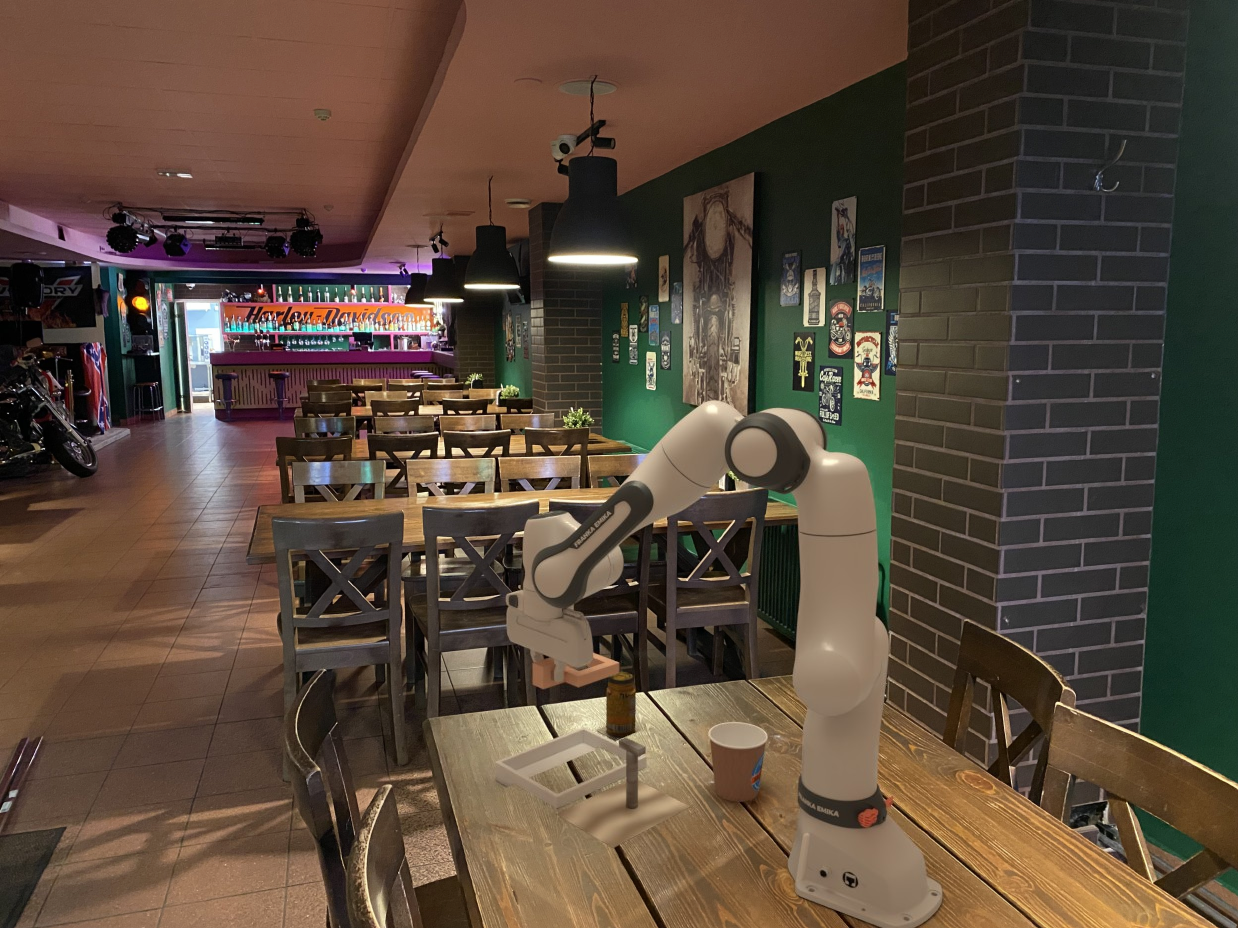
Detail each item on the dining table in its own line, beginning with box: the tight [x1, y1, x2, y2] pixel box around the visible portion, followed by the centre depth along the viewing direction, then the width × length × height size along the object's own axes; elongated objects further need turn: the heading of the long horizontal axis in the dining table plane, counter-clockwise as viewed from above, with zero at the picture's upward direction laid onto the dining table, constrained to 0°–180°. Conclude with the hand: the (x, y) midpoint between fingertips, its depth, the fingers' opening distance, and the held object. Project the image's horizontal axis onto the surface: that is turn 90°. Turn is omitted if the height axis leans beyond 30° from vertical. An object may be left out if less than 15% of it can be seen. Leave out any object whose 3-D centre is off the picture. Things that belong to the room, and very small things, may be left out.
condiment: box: [596, 671, 642, 742], centre depth 181 cm, size 7×8×12 cm
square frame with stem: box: [532, 652, 620, 690], centre depth 161 cm, size 10×15×4 cm, turn 134°
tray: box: [494, 726, 647, 809], centre depth 163 cm, size 18×22×4 cm
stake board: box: [555, 737, 691, 849], centre depth 148 cm, size 14×18×13 cm
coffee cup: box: [707, 721, 769, 803], centre depth 155 cm, size 10×10×12 cm
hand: (549, 677), depth 157 cm, fingers closed on square frame with stem, 3 cm apart
